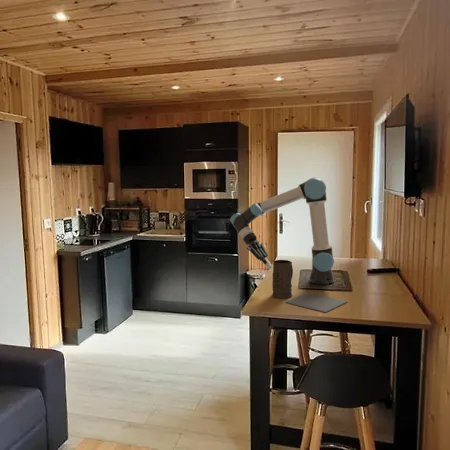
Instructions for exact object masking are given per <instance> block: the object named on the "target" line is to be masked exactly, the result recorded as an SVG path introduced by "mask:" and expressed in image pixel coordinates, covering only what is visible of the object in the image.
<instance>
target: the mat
mask: <svg viewBox="0 0 450 450" xmlns="http://www.w3.org/2000/svg"><path fill="white" fill-rule="evenodd" d="M347 303H348V301H347V300H343V299H341V298H340V299H339V298H334V297H330V296H325V295H321V294H316V293H313V292H309V291H308V292H306V293H304V294H301V295H299V296H296V297H294V298H291V299H289V300H286V301H285V304H289V305H293V306H297V307H301V308H305V309H310V310H311V311H317V312H320V313H325V314H327V313H328V312H331V311H333V310H335V309H337V308H339V307H341V306H343V305H345V304H347Z"/></svg>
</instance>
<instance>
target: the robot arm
mask: <svg viewBox="0 0 450 450" xmlns="http://www.w3.org/2000/svg"><path fill="white" fill-rule="evenodd" d="M326 190H327V186H326V183H325V182H324V181H323V179H322V178H319V177H311V178H309V179H308V180H305V181H304V182H302V183H300V184H298V185H297V187H295V188H292V189H290V190H287V191H285V192H282V193H279V194H277V195H275V196H274V195H273V196H272V197H269V198H268V199H265V200H263V201H259V202H258V203H256V202H254V203H252V204H251V205H250V206H249V207H248V208H247V209H245V210H244V211H243V212H242V213H239V212H236V213H235V214H233V215H231V217H230V223H231V224H232V226H233V228H234V229H235V230H236V232H237V233H238V235H239V236H240V237H241V239H242V240H243V242H244V243H245V245H247V247H246V250H248V251H249V252H250V253H251V254H252V255H253V256H254V257H255V258H256V259H257V260H258V261H259V262H262V263H263V264H264V266H265V267H266V268H267V270H270V269H271V268H273V264H272V263H271V261H270V260H269V259H268V256H269V254H268V252H267V249H266V247H265V246H264V242H259V240H257V239H258V238H257V235H256V234H255V232H254V231H253V229H252V228H251V227H250V226H249V225H250V223H252V222H253V221H254V220H255V219H257V218H258V217H260V216H262V215H264V214H267V213H269V212H272V211H274V210H277V209H279V208H283V207H285V206H287V205H290V204H293V203H295V202H297V201H299V200H302V199H303V200H305V202H306V204H308V206H309V215H310V224H311V233H312V240H313V241H312V243H313V245H312V247H311V256H312V257H311V259H312V260H311V263H312V264H311V271H310V274H309V277H308V282H309V283H311V282H312V284H314V283H316V284H315V285H330V284H329V283H332V284H334V283H333V282H335V277H334V274H333V270H332V269H333V267H334V264H335V260H334V256H333V255H334V254H333V247H332V245H331V244H330V242H329V234H328V226H327V225H328V224H327V216H326V207H325V203H326V202H327V192H326Z"/></svg>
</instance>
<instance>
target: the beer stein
mask: <svg viewBox="0 0 450 450" xmlns="http://www.w3.org/2000/svg"><path fill="white" fill-rule="evenodd" d="M293 276H294V269H293V262H292V261H290V260H288V259H277V260H273V263H272V287H271V288H272V297H273V298H275V299H276V298H277V299H284V300H285V299H290V298H292V297H293V293H292V287H293V284H292V279H293Z"/></svg>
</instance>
